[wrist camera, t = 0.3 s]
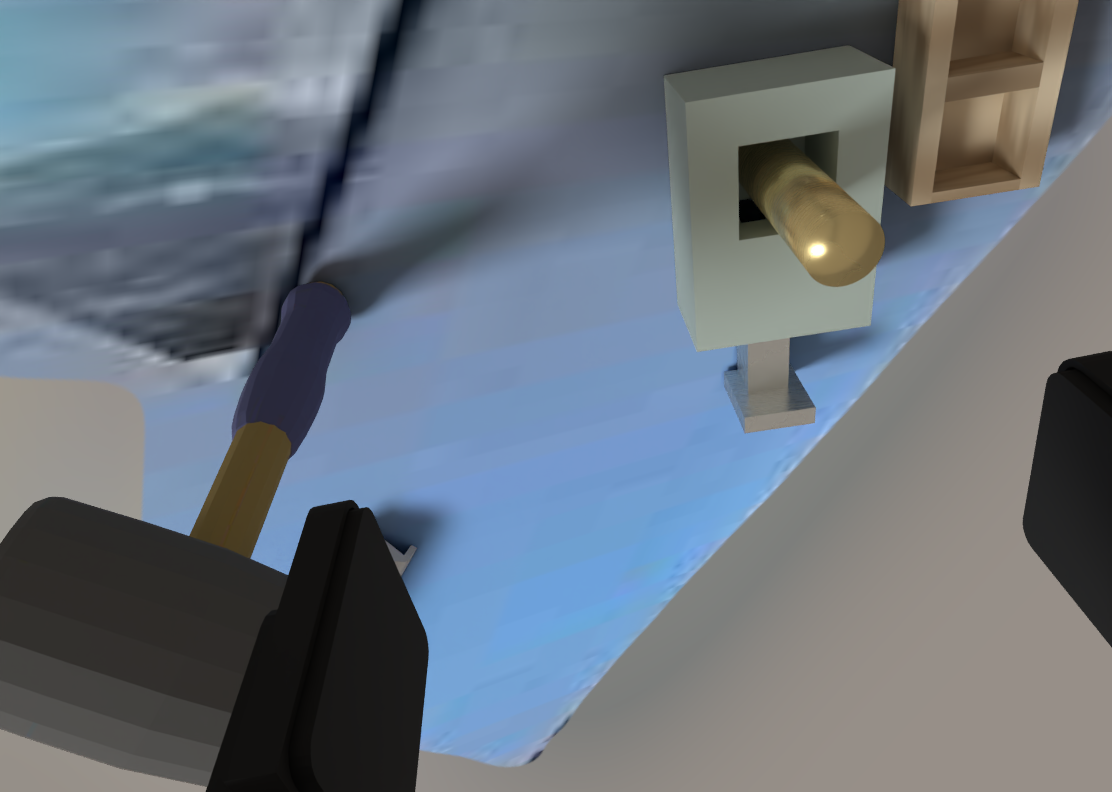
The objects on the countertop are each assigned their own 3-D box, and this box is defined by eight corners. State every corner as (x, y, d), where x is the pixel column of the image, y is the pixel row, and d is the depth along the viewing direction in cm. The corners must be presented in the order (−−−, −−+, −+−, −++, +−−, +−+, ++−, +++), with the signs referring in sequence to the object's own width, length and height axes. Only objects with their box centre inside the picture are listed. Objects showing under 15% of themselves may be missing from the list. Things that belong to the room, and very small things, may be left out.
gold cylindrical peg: (729, 132, 43) (806, 219, 32) (791, 122, 43) (888, 206, 32) (730, 191, 45) (803, 292, 34) (789, 182, 45) (880, 280, 34)
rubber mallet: (440, 304, 49) (377, 749, 24) (384, 388, 52) (278, 858, 27) (249, 199, 45) (-69, 611, 20) (201, 298, 48) (-124, 760, 23)
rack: (917, -195, 36) (1025, -212, 29) (1069, -221, 36) (1218, -245, 28) (881, 182, 46) (954, 242, 39) (1000, 163, 46) (1096, 220, 38)
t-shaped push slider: (721, 278, 49) (743, 319, 44) (791, 267, 49) (821, 307, 44) (724, 386, 53) (744, 433, 49) (788, 376, 53) (814, 422, 49)
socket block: (663, 75, 42) (685, 102, 37) (848, 45, 42) (895, 68, 37) (677, 304, 50) (697, 351, 45) (833, 280, 50) (870, 325, 45)
